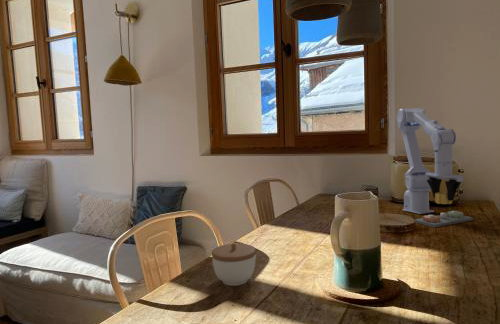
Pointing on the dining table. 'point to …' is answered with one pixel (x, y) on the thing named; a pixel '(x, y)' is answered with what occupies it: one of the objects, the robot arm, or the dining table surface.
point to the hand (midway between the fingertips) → (443, 198)
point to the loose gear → (442, 198)
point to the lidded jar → (234, 263)
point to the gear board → (443, 219)
